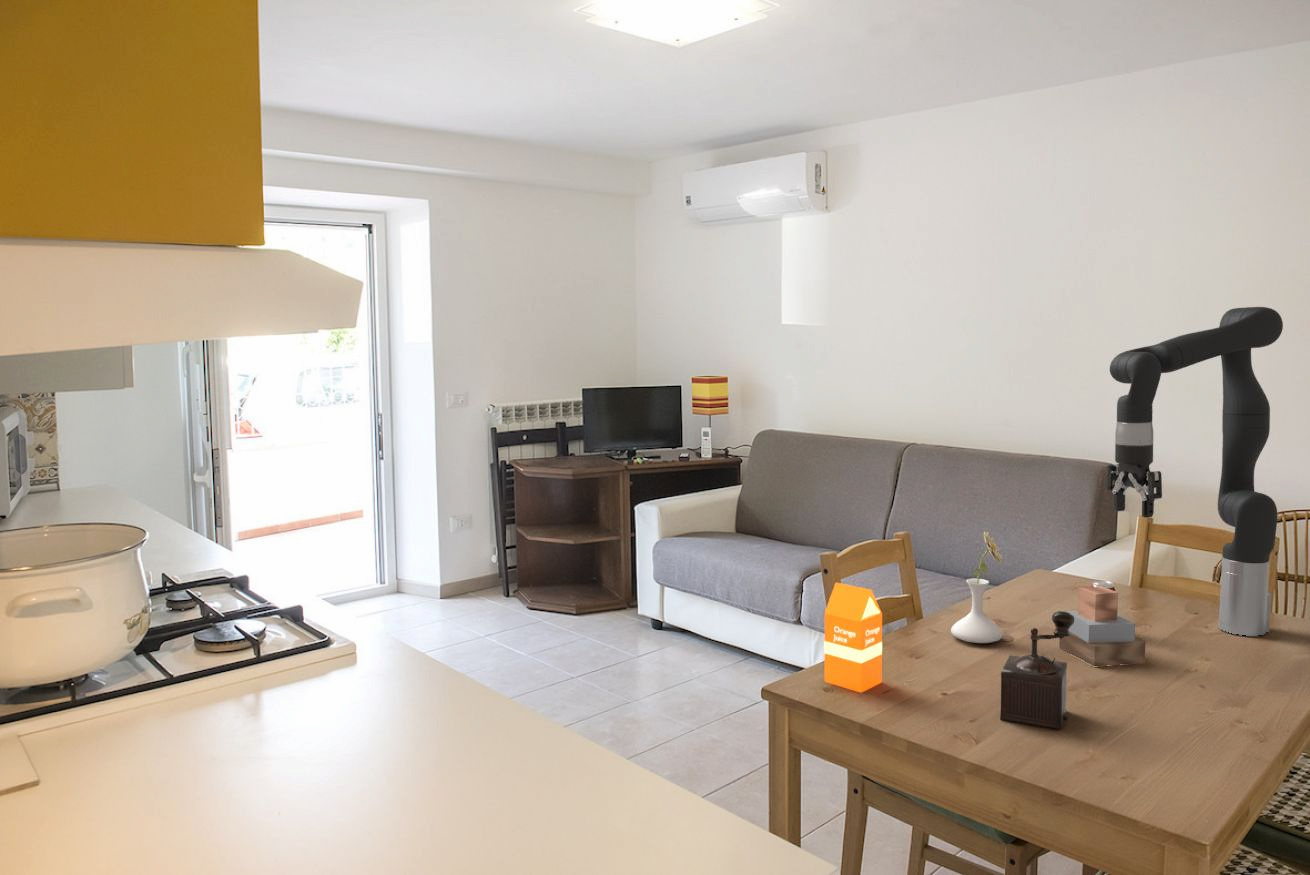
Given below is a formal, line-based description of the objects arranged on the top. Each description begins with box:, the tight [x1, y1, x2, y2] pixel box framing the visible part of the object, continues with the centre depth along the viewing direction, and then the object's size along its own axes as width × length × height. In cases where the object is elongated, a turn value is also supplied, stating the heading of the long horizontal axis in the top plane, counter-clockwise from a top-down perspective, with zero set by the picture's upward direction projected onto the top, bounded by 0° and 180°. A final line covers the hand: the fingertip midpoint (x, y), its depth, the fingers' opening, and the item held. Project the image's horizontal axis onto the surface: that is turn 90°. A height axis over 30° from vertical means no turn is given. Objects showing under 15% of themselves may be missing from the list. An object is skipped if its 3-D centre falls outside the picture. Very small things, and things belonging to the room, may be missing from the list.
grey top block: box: [1065, 610, 1136, 643], centre depth 199 cm, size 10×10×4 cm
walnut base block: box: [1058, 631, 1147, 667], centre depth 200 cm, size 12×12×5 cm
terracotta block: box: [1077, 586, 1119, 622], centre depth 199 cm, size 6×6×6 cm
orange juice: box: [823, 582, 883, 693], centre depth 186 cm, size 8×9×20 cm
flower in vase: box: [950, 531, 1004, 644], centre depth 211 cm, size 13×11×25 cm
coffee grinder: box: [999, 610, 1074, 731], centre depth 170 cm, size 16×11×18 cm
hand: (1133, 513), depth 205 cm, fingers open, 8 cm apart
